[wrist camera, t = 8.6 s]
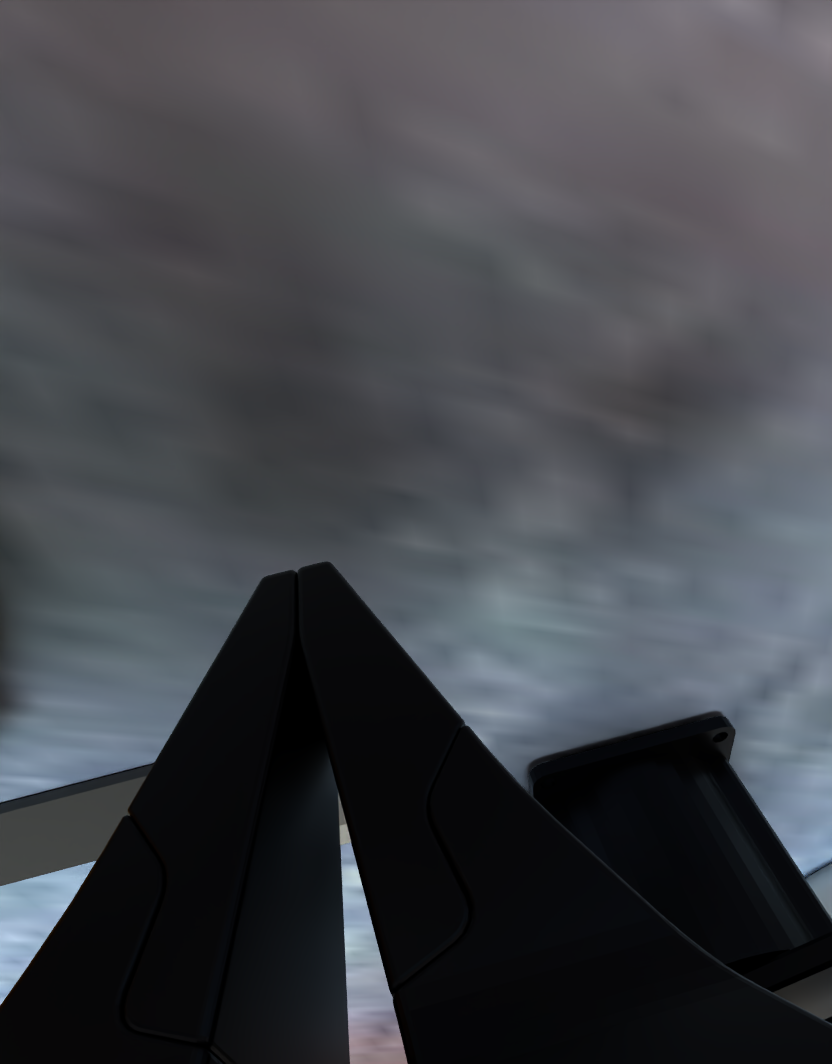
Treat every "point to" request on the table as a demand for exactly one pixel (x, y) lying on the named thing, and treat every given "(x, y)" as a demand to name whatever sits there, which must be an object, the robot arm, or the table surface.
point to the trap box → (71, 825)
